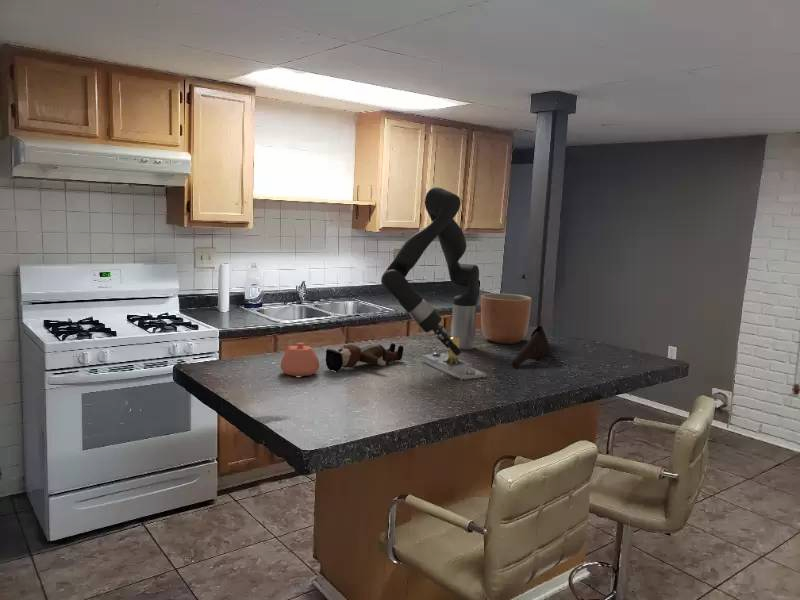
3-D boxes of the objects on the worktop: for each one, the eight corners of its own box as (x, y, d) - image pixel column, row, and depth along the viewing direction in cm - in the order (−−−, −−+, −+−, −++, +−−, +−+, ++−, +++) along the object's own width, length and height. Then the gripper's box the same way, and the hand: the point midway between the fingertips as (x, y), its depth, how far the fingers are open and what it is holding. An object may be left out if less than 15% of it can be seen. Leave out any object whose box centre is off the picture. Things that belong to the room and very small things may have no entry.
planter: (468, 339, 269) (471, 295, 266) (499, 334, 283) (502, 292, 280) (508, 348, 254) (511, 301, 251) (538, 342, 268) (541, 298, 265)
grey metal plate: (421, 361, 226) (422, 352, 226) (444, 359, 231) (444, 350, 230) (461, 379, 203) (461, 370, 203) (485, 377, 208) (486, 367, 207)
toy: (422, 351, 218) (355, 351, 198) (418, 378, 219) (350, 381, 198) (377, 338, 235) (311, 336, 215) (373, 363, 236) (307, 364, 215)
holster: (528, 396, 228) (556, 352, 243) (519, 362, 220) (548, 319, 235) (515, 393, 231) (544, 350, 246) (506, 360, 223) (536, 317, 238)
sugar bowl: (296, 381, 195) (297, 348, 193) (269, 372, 204) (269, 341, 203) (327, 374, 204) (327, 343, 202) (299, 366, 213) (300, 336, 212)
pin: (444, 362, 218) (445, 337, 216) (454, 361, 219) (455, 336, 218) (450, 365, 214) (452, 339, 213) (460, 364, 216) (462, 338, 215)
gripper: (433, 311, 207) (468, 349, 209) (433, 305, 222) (466, 341, 223) (416, 326, 208) (451, 364, 210) (417, 319, 222) (450, 355, 224)
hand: (458, 352), depth 216 cm, fingers closed on pin, 4 cm apart
